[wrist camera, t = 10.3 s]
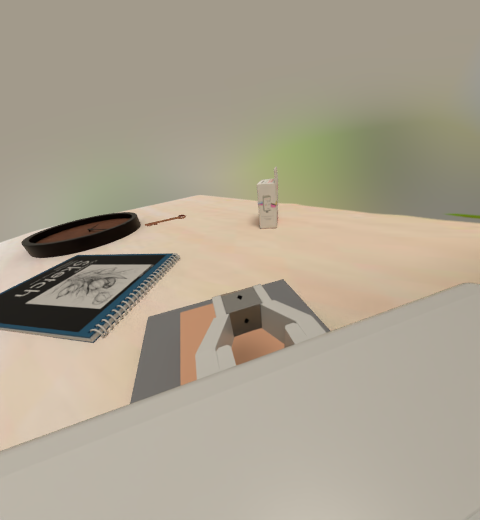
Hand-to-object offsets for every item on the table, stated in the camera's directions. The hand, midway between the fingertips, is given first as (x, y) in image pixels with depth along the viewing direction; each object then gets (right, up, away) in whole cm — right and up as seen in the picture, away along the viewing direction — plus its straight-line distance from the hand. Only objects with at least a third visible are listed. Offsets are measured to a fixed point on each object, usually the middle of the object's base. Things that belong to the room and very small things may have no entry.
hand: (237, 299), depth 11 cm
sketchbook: (-29, -3, +24) cm, 38 cm away
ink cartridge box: (+9, +13, +43) cm, 45 cm away
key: (-28, +17, +58) cm, 66 cm away
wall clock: (-51, +10, +52) cm, 74 cm away
